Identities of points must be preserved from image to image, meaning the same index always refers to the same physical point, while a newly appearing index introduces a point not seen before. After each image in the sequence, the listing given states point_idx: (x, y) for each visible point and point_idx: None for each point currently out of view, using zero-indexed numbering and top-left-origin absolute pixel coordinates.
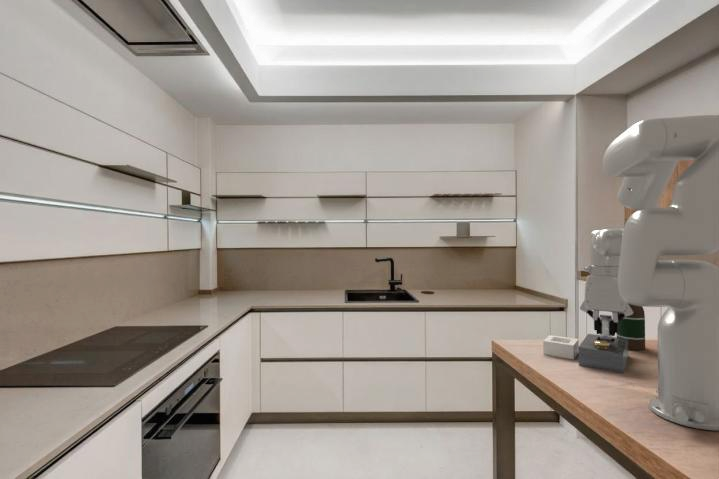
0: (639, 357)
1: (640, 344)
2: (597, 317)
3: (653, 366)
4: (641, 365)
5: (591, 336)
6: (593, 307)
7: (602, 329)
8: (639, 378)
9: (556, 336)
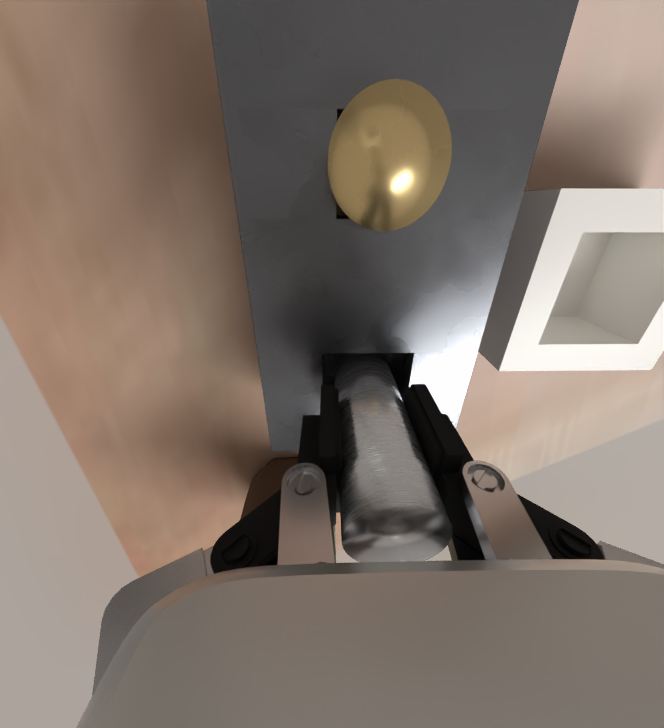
0: (258, 430)
1: (256, 494)
2: (467, 488)
3: (196, 355)
4: (232, 342)
5: (438, 406)
6: (639, 607)
7: (395, 408)
8: (188, 115)
9: (616, 360)
